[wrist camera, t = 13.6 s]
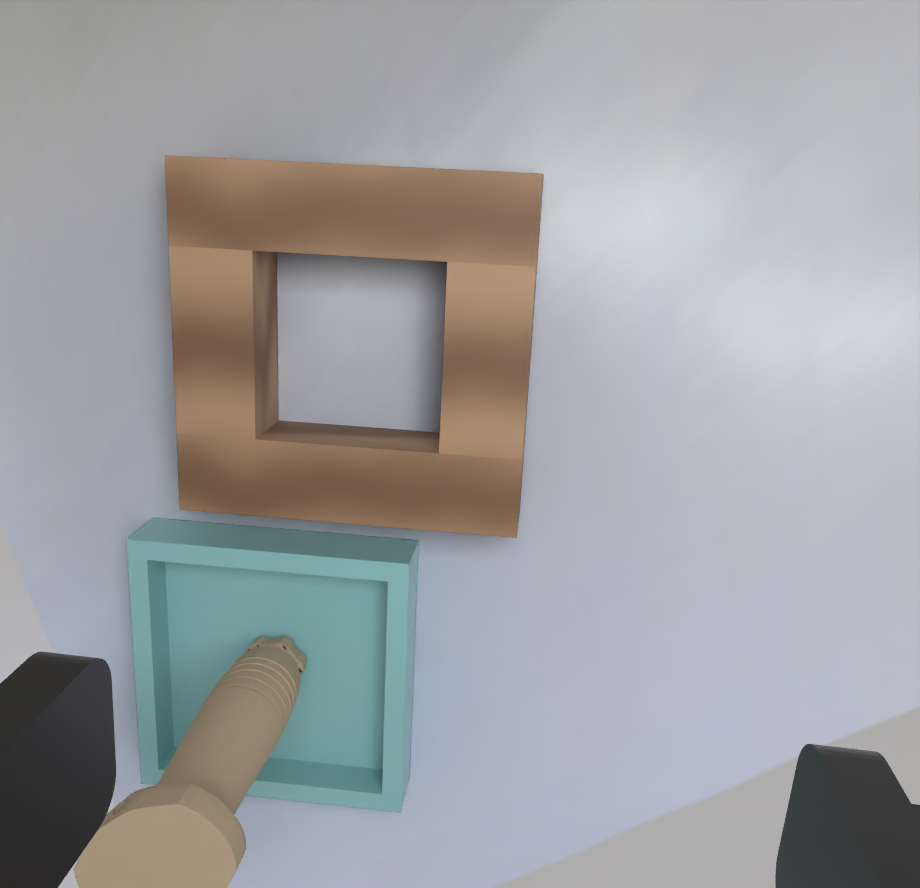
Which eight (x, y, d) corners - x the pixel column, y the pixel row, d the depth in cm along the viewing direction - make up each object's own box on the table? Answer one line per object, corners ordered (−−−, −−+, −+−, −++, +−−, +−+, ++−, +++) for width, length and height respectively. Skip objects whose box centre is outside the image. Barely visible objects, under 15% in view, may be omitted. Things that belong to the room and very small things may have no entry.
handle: (353, 662, 46) (261, 878, 32) (262, 720, 48) (135, 951, 33) (295, 592, 45) (174, 781, 31) (204, 654, 47) (49, 860, 33)
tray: (153, 517, 46) (126, 539, 43) (418, 540, 45) (409, 564, 42) (165, 749, 50) (141, 783, 47) (409, 776, 49) (400, 812, 46)
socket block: (196, 158, 41) (164, 155, 38) (543, 175, 39) (542, 173, 36) (207, 486, 45) (179, 509, 42) (519, 511, 44) (516, 537, 41)
